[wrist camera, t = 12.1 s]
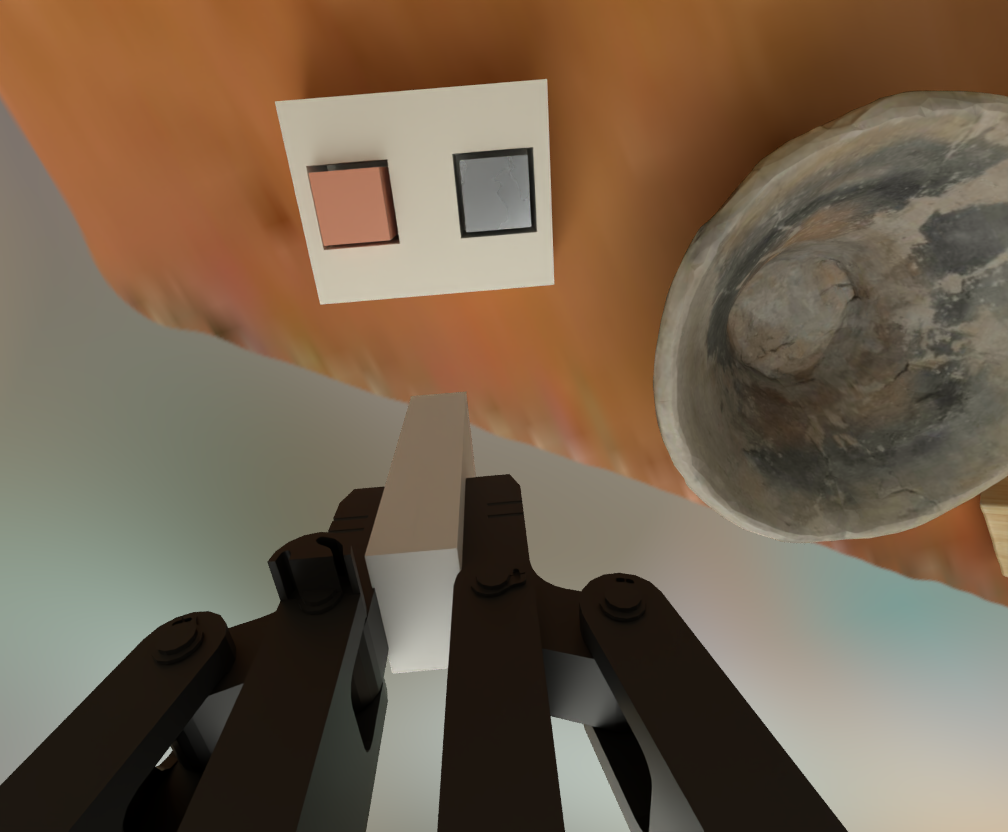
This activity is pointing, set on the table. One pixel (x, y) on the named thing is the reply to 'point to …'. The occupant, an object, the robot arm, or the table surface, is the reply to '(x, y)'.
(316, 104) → the block
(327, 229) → the pink cube
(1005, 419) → the bowl
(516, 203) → the grey metal cube
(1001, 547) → the knife block
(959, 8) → the table surface
